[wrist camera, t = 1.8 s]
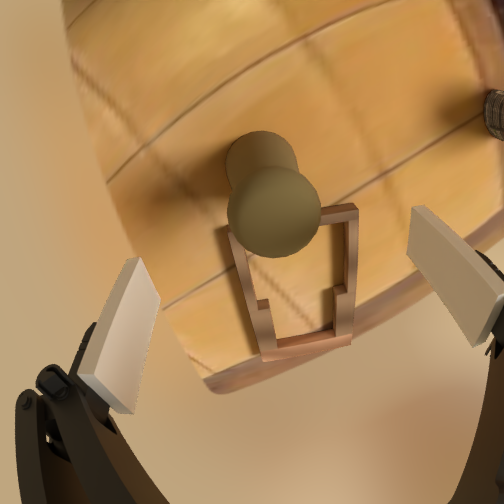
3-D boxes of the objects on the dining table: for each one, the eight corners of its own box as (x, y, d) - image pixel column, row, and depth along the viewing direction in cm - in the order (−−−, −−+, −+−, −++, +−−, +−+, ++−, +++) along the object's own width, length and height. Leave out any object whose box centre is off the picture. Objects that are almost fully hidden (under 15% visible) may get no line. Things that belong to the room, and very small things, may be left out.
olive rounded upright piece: (224, 196, 25) (218, 274, 16) (226, 129, 22) (217, 167, 12) (292, 199, 25) (324, 275, 16) (299, 133, 22) (345, 174, 13)
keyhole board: (227, 224, 26) (227, 232, 25) (352, 202, 26) (358, 209, 25) (262, 353, 38) (263, 362, 36) (347, 336, 37) (350, 344, 36)
